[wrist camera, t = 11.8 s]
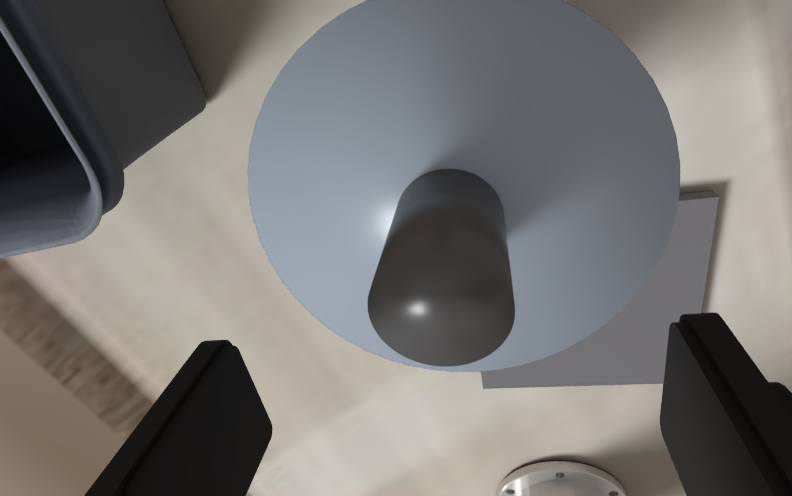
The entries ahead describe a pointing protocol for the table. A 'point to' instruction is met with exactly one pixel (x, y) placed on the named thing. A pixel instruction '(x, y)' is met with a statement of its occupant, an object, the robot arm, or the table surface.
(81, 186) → the storage bin
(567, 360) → the mat
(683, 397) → the robot arm
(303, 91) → the lid
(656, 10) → the table surface
